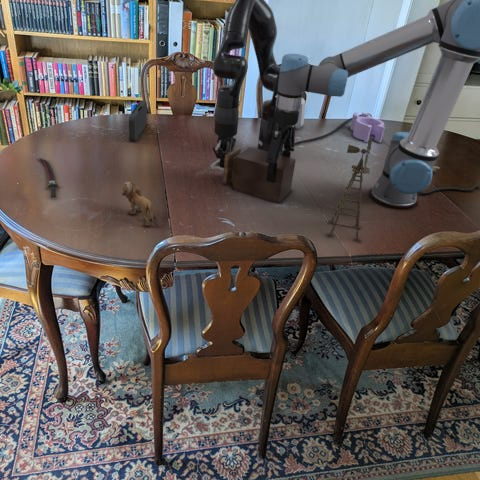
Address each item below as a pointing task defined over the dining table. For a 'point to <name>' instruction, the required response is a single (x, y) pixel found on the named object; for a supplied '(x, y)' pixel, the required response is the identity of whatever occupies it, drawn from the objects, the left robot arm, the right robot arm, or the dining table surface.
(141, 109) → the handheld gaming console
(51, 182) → the sword
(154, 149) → the dining table surface
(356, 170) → the miniature windmill
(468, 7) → the right robot arm
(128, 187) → the lion figurine
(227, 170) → the drawer
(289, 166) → the cabinet
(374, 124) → the clip
